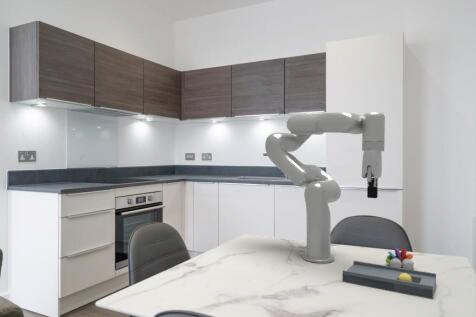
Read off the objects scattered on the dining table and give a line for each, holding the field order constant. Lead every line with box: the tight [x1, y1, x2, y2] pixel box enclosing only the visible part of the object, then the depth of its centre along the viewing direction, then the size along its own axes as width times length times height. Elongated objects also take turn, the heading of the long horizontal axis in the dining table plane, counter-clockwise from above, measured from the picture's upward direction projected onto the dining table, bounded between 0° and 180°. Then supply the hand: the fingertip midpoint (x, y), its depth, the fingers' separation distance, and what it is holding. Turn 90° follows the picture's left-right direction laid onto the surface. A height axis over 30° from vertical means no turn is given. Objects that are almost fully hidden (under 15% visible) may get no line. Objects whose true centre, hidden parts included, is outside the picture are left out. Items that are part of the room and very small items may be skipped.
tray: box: [342, 260, 437, 300], centre depth 113 cm, size 26×14×4 cm, turn 57°
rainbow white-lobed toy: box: [385, 247, 415, 270], centre depth 130 cm, size 8×10×7 cm
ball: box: [398, 273, 412, 282], centre depth 110 cm, size 4×4×4 cm
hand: (372, 197), depth 125 cm, fingers closed
